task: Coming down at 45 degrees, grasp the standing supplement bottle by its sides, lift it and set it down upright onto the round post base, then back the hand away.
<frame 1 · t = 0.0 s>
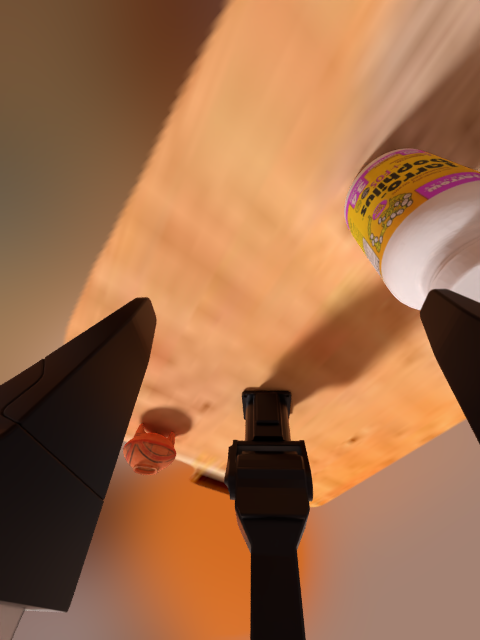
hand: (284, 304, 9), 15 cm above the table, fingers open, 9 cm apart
pot: (155, 430, 45), on the table
supplement bottle: (386, 197, 21), on the table
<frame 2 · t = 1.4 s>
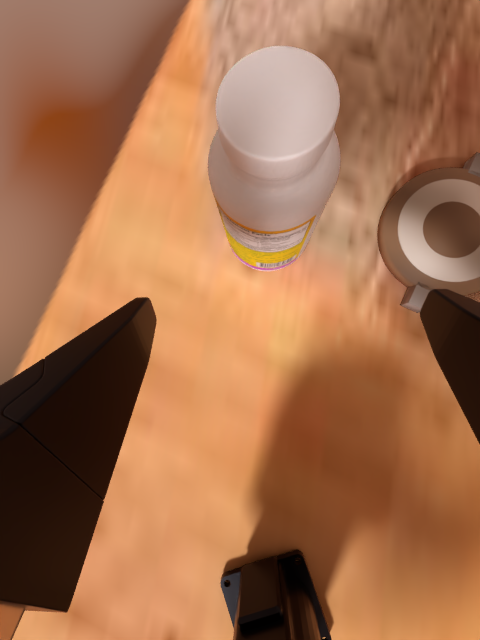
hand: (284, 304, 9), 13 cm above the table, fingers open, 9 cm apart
post base: (441, 236, 22), on the table
supplement bottle: (267, 235, 23), on the table
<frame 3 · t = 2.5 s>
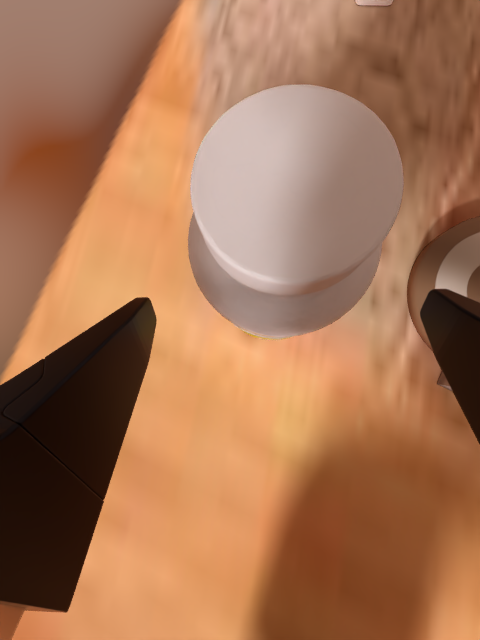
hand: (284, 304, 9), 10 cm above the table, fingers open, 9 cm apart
supplement bottle: (270, 292, 19), on the table
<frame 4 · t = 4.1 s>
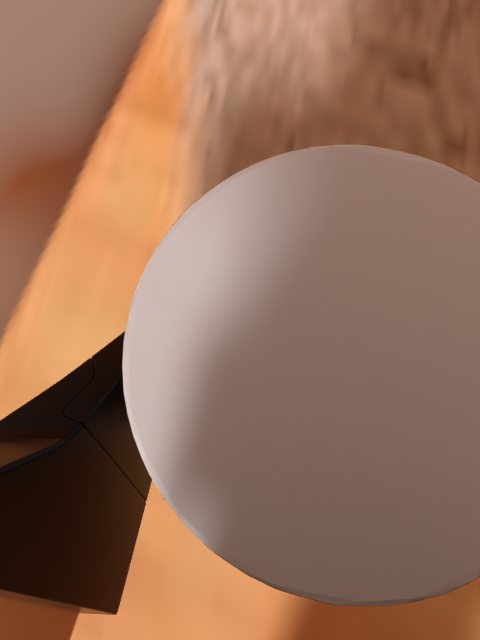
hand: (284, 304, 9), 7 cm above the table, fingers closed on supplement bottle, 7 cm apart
supplement bottle: (274, 345, 16), on the table, touching gripper
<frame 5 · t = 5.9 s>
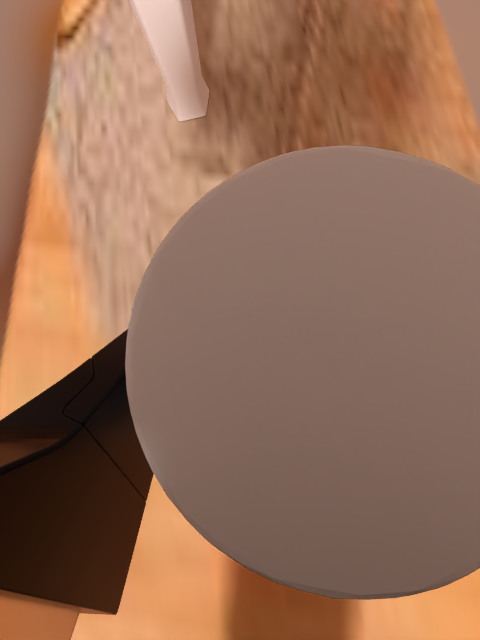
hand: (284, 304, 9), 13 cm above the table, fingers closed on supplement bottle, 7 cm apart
perfume bottle: (191, 104, 25), on the table
supplement bottle: (272, 345, 16), point 7 cm above the table, touching gripper
when the fingers open (9 cm above the table, at t = 7.9 s): supplement bottle stays where it is, resting on post base.
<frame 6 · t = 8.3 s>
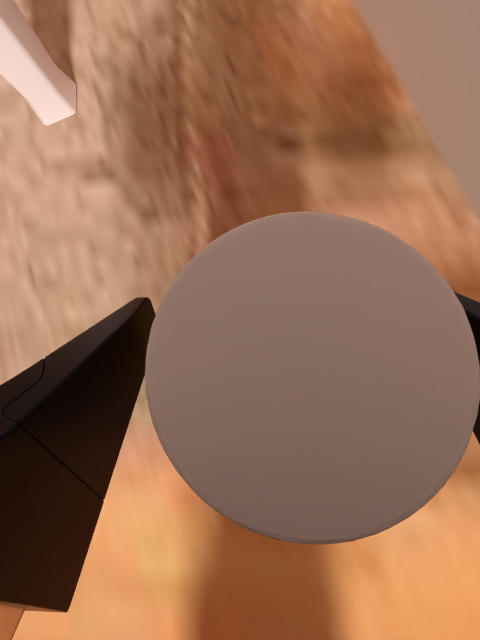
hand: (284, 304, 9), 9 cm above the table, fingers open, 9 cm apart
perfume bottle: (58, 104, 21), on the table
supplement bottle: (272, 348, 17), point 1 cm above the table, touching post base
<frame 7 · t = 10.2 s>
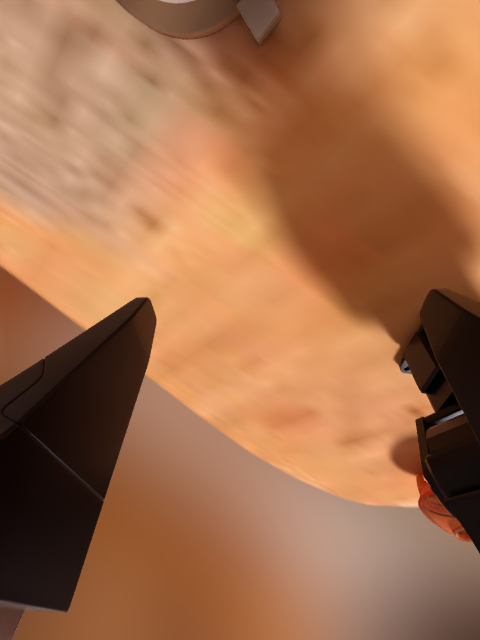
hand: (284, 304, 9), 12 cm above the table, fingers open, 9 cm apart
pot: (446, 471, 32), on the table
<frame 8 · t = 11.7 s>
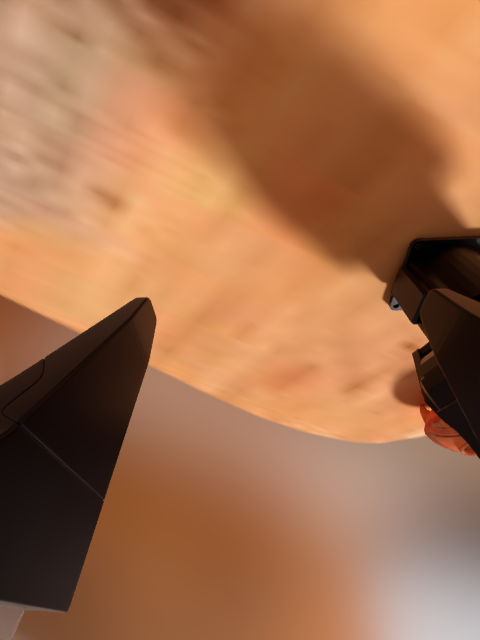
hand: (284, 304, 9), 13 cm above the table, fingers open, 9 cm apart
pot: (446, 397, 34), on the table
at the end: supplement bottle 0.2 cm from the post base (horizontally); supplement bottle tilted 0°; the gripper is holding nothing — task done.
